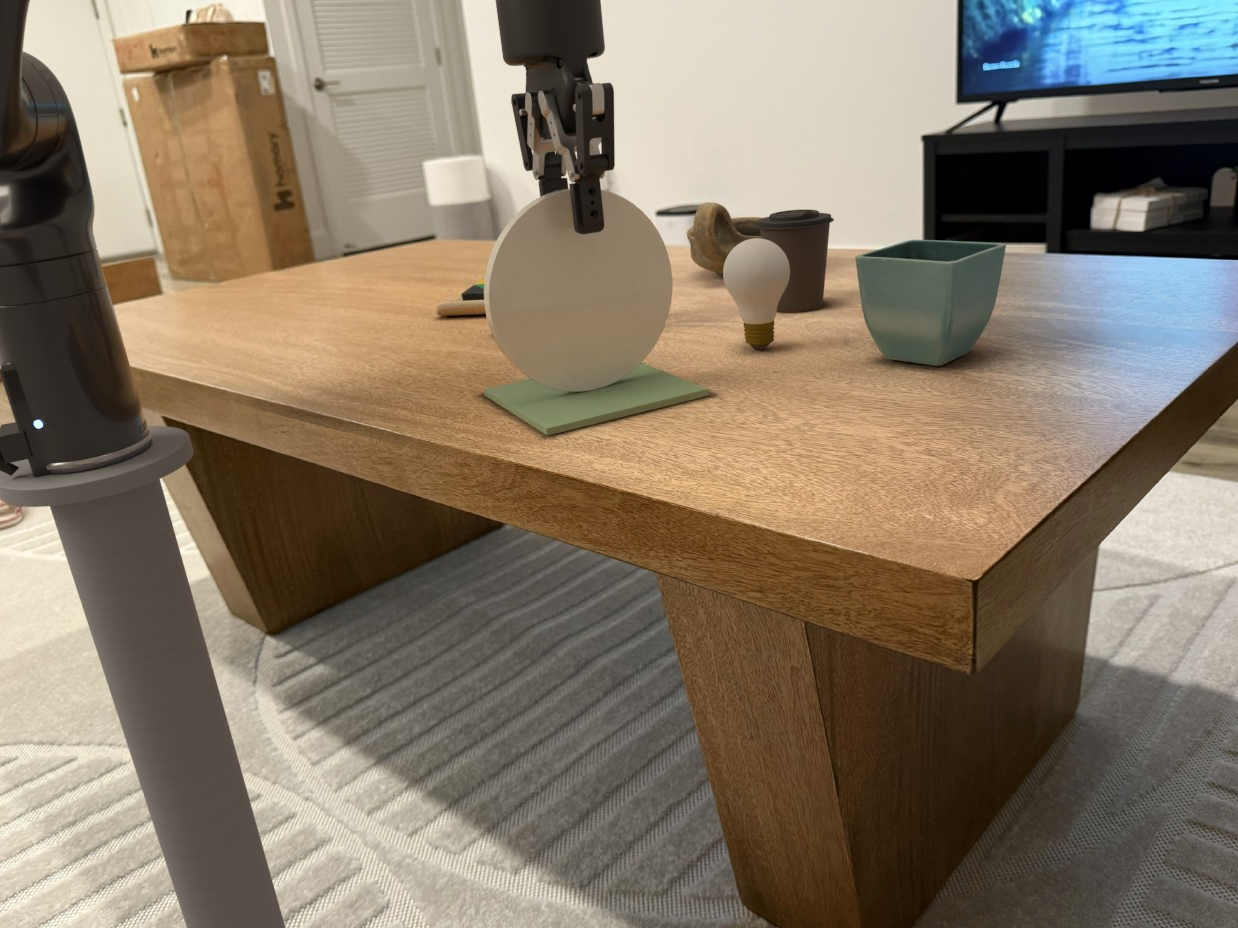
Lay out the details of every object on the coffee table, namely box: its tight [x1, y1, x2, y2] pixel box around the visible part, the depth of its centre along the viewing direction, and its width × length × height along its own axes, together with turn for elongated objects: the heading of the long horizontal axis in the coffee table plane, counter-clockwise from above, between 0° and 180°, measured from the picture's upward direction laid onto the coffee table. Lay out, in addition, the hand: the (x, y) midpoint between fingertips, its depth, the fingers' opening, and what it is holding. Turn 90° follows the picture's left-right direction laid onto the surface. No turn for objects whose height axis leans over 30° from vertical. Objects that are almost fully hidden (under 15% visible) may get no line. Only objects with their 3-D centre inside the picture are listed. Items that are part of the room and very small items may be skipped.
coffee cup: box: [755, 209, 835, 313], centre depth 104 cm, size 8×8×10 cm
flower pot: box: [854, 239, 1007, 367], centre depth 81 cm, size 9×9×9 cm
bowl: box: [685, 201, 766, 275], centre depth 124 cm, size 14×18×10 cm
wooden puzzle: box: [435, 276, 486, 317], centre depth 123 cm, size 18×19×4 cm
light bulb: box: [722, 238, 790, 351], centre depth 88 cm, size 6×6×10 cm
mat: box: [483, 362, 710, 437], centre depth 81 cm, size 14×14×1 cm
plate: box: [484, 187, 673, 392], centre depth 78 cm, size 16×1×16 cm, turn 117°
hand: (573, 229), depth 77 cm, fingers open, 5 cm apart
